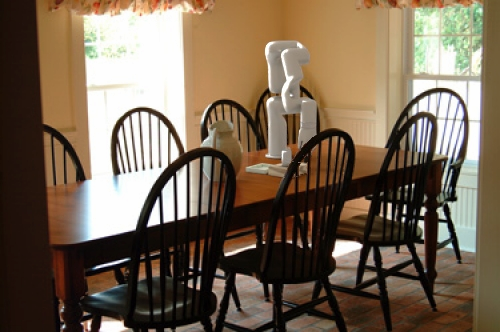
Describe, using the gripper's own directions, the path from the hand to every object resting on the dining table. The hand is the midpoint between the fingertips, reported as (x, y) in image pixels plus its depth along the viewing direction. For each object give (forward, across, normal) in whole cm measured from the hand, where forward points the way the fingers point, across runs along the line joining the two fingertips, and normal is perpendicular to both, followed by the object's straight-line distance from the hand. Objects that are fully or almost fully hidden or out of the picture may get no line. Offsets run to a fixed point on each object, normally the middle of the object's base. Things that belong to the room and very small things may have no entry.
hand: (307, 163), depth 357 cm
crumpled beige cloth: (+2, +17, +1) cm, 17 cm away
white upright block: (+2, +19, +1) cm, 19 cm away
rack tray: (+2, +18, -13) cm, 22 cm away
